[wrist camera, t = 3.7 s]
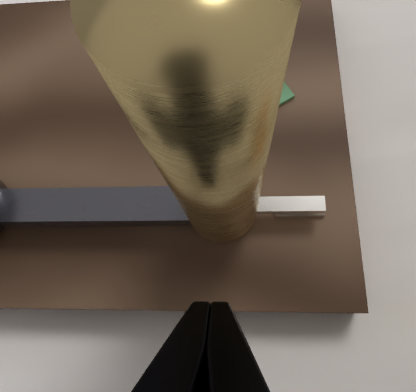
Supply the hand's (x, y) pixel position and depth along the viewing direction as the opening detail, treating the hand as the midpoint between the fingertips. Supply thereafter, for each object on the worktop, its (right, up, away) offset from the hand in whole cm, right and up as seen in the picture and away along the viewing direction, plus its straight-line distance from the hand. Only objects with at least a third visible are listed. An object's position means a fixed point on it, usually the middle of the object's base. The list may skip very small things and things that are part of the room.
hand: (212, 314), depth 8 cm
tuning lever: (-4, +2, +7) cm, 8 cm away
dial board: (-3, +5, +9) cm, 11 cm away
